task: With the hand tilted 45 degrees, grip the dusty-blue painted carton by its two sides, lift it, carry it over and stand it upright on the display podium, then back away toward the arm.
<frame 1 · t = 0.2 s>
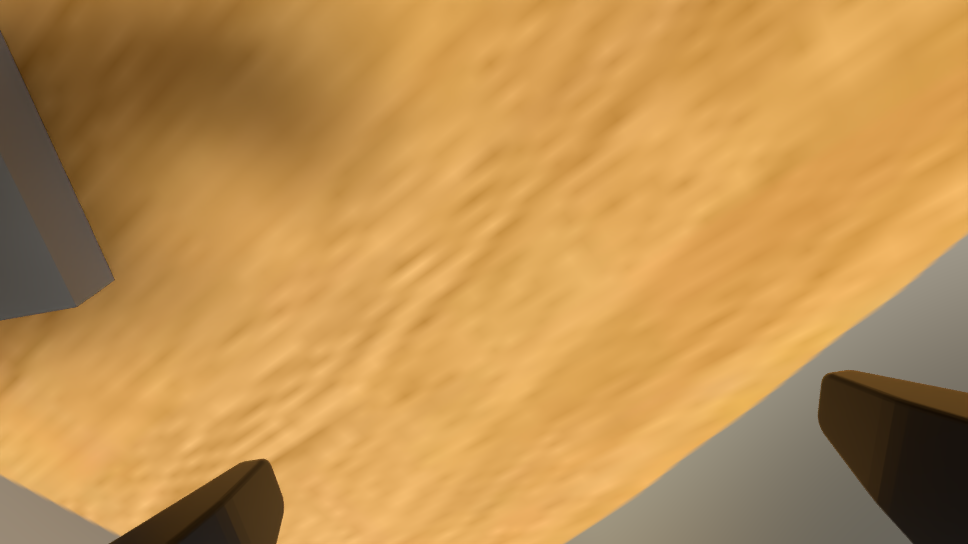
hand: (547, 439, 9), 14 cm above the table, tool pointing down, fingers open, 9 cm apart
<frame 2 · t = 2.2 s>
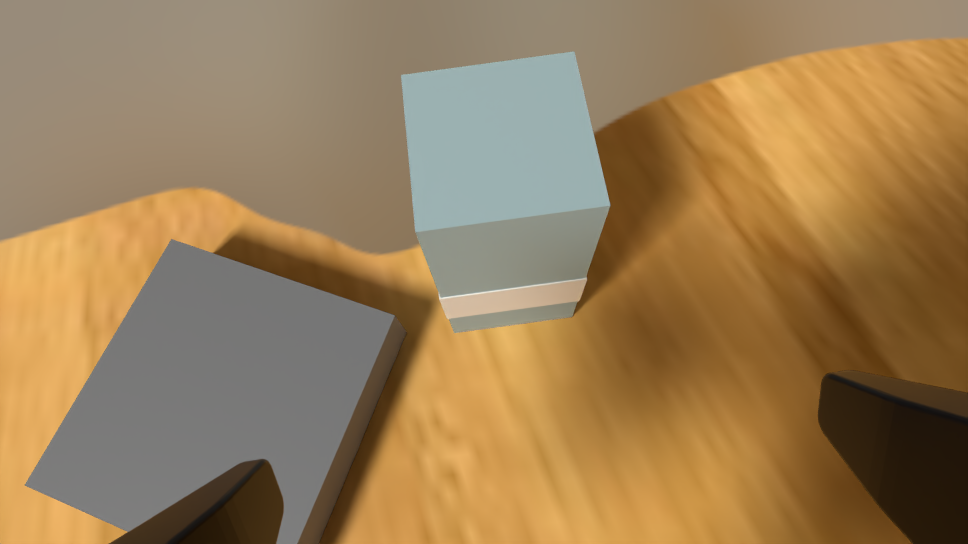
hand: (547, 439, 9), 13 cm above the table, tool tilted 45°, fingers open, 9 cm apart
carton: (504, 270, 24), on the table
podium: (247, 406, 23), on the table
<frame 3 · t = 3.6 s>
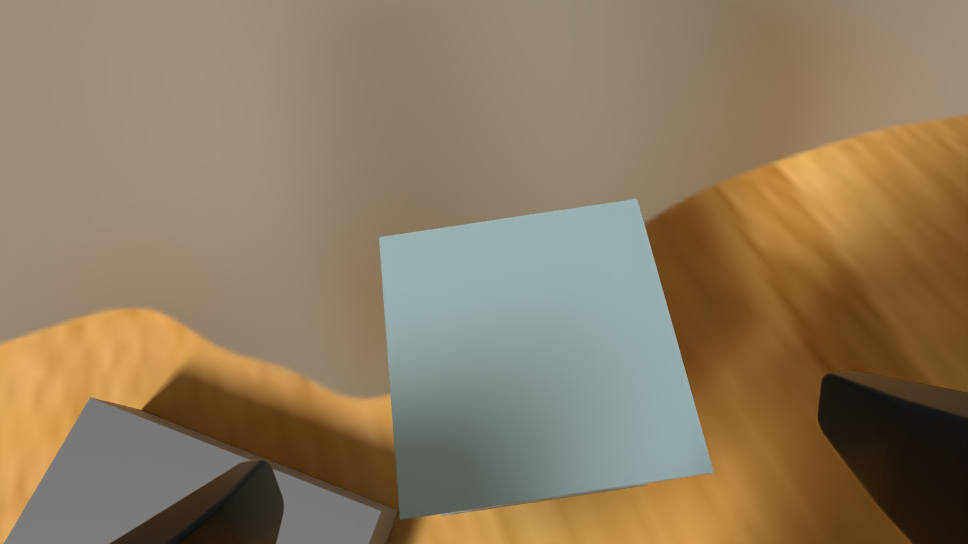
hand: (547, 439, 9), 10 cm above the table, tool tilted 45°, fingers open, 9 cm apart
carton: (524, 420, 19), on the table
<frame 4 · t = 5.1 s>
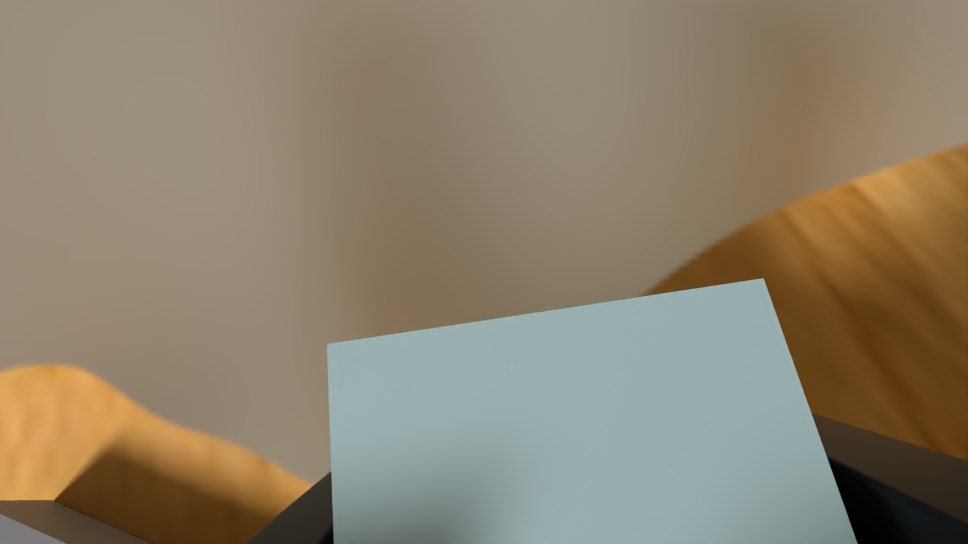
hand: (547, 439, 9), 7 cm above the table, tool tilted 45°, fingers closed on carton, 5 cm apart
carton: (545, 518, 15), on the table, touching gripper
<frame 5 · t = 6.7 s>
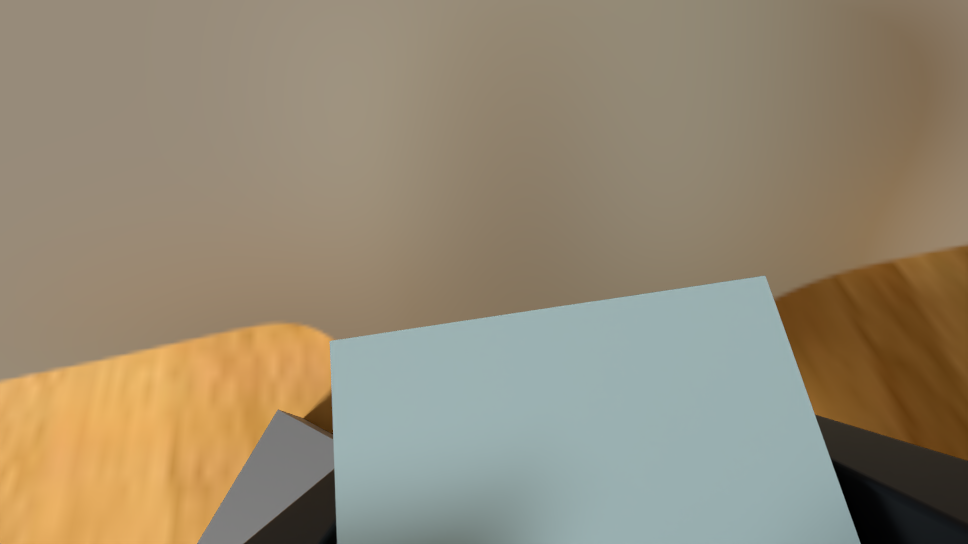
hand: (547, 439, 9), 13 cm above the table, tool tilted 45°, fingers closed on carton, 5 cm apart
carton: (546, 517, 15), point 7 cm above the table, touching gripper
when the fingers open (10 cm above the table, at t = 8.4 s): carton stays where it is, resting on podium.
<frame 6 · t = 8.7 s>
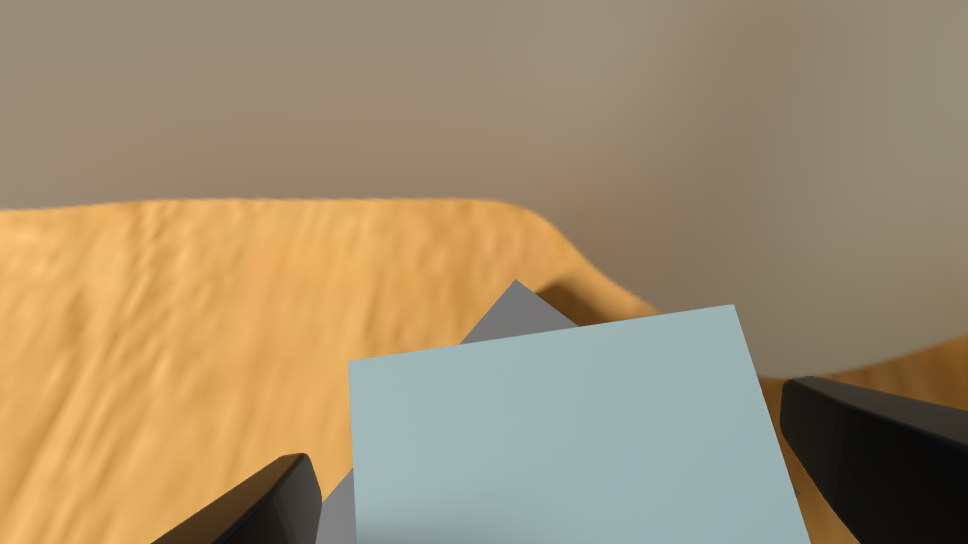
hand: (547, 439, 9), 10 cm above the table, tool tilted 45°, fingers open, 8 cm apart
carton: (542, 516, 16), point 2 cm above the table, touching podium
podium: (539, 513, 18), on the table
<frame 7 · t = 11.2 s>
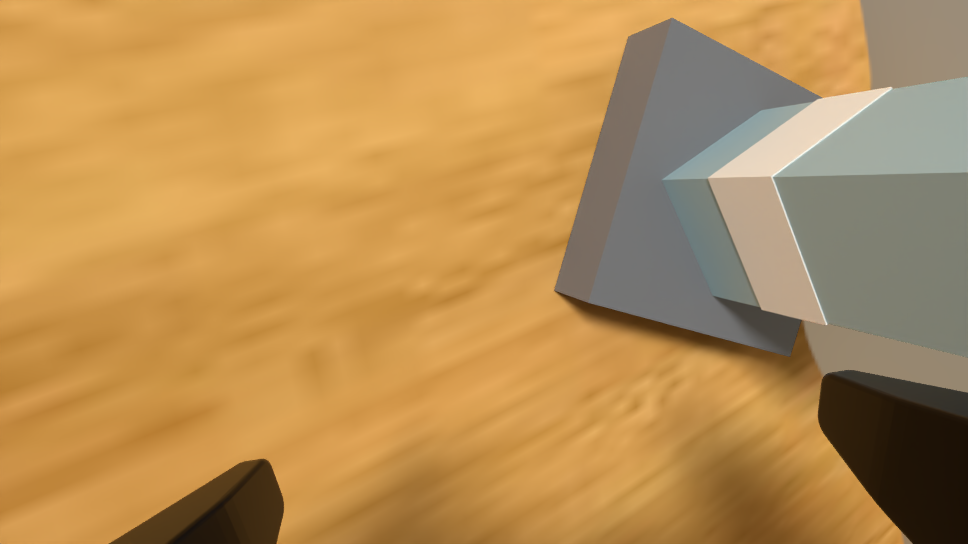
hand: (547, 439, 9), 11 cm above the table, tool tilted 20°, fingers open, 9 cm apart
carton: (736, 203, 21), point 2 cm above the table, touching podium
podium: (690, 202, 23), on the table
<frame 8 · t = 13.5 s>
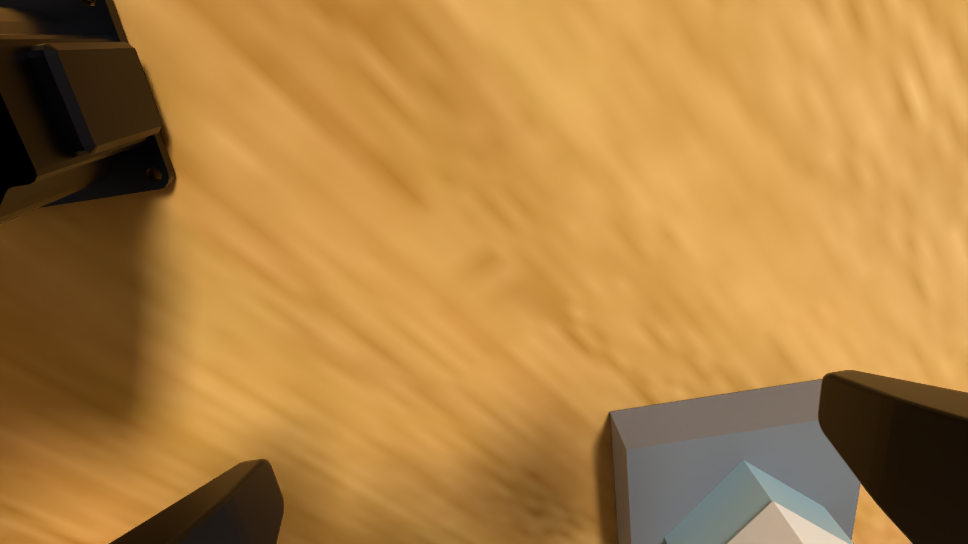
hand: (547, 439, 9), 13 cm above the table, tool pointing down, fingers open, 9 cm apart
carton: (744, 522, 25), point 2 cm above the table, touching podium
podium: (718, 480, 27), on the table
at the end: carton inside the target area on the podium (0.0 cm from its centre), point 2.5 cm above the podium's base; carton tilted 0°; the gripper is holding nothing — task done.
